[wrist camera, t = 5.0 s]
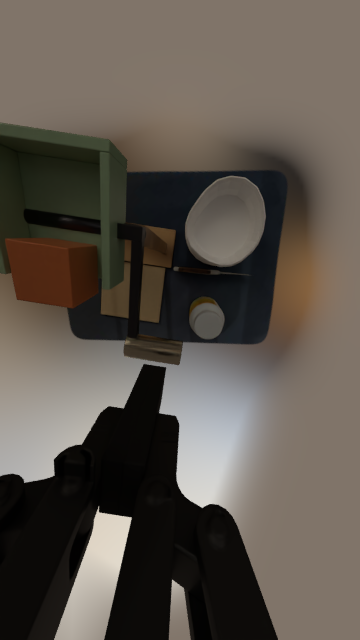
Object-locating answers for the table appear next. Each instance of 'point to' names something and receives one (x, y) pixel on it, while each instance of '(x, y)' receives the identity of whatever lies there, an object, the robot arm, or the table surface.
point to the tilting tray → (76, 212)
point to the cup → (226, 222)
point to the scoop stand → (155, 247)
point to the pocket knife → (201, 271)
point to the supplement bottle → (206, 317)
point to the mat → (151, 294)
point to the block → (53, 270)
